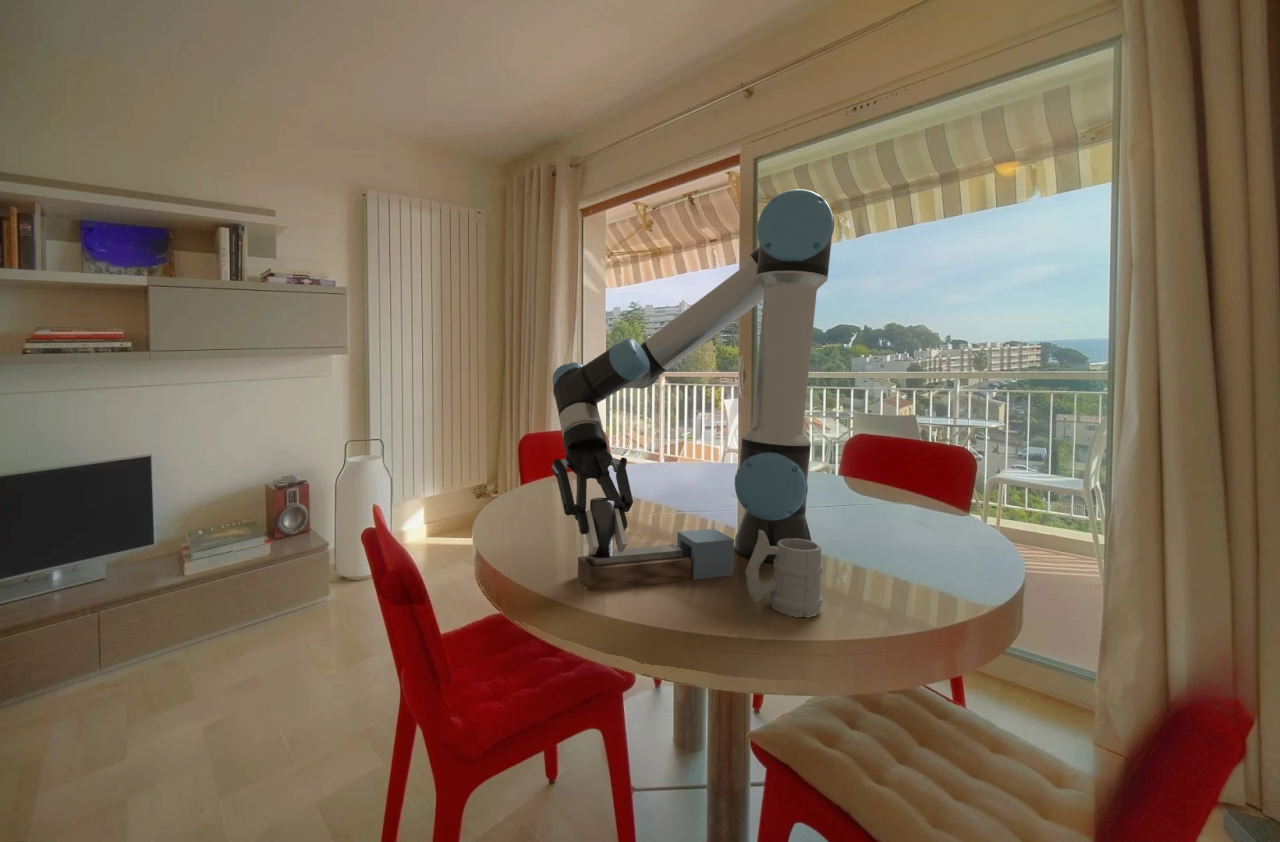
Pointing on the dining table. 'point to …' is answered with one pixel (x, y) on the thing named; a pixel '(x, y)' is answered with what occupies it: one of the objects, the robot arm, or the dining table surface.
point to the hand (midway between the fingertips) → (608, 549)
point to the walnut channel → (632, 573)
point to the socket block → (707, 552)
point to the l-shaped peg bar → (605, 535)
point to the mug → (788, 575)
